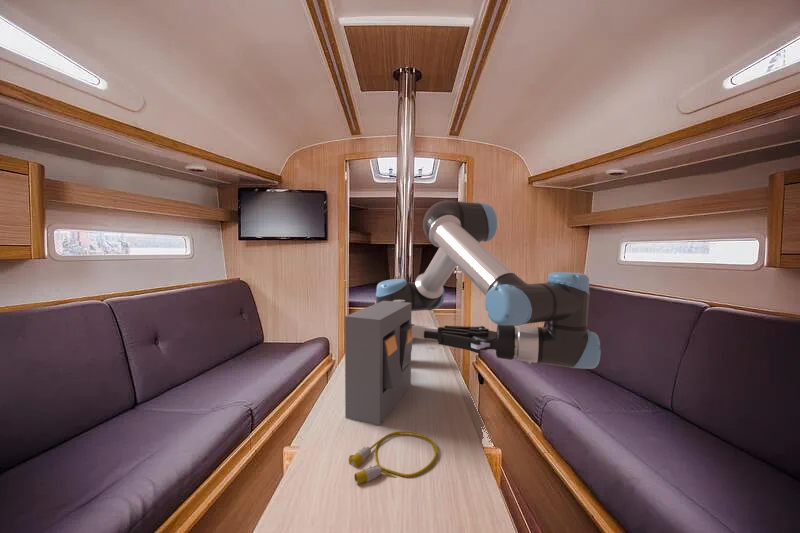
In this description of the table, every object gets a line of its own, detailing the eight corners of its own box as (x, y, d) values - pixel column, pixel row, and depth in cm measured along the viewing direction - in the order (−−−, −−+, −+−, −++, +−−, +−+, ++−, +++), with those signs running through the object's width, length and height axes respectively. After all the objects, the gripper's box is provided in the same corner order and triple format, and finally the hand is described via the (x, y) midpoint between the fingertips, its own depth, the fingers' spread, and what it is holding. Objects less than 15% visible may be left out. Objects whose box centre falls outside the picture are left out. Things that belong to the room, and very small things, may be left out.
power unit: (383, 379, 85) (383, 300, 83) (410, 384, 82) (411, 302, 80) (345, 417, 66) (345, 316, 64) (379, 425, 63) (379, 319, 62)
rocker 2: (402, 360, 80) (407, 323, 79) (411, 362, 79) (415, 324, 78) (394, 368, 74) (399, 328, 73) (403, 371, 74) (408, 330, 72)
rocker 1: (394, 377, 70) (386, 334, 70) (403, 377, 69) (395, 333, 69) (383, 388, 64) (374, 341, 65) (393, 388, 64) (384, 340, 64)
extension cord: (349, 440, 59) (349, 430, 59) (430, 434, 61) (430, 424, 61) (347, 490, 47) (347, 477, 47) (447, 480, 49) (447, 468, 49)
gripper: (515, 370, 61) (403, 355, 69) (514, 349, 74) (419, 338, 82) (516, 333, 61) (403, 322, 69) (515, 318, 73) (420, 310, 81)
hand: (412, 331), depth 75 cm, fingers closed
